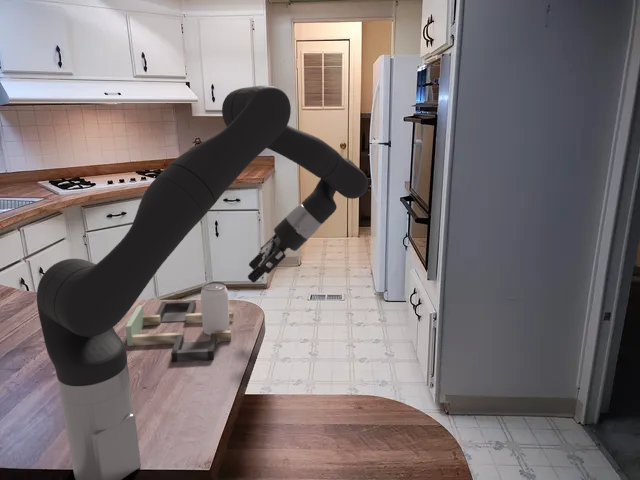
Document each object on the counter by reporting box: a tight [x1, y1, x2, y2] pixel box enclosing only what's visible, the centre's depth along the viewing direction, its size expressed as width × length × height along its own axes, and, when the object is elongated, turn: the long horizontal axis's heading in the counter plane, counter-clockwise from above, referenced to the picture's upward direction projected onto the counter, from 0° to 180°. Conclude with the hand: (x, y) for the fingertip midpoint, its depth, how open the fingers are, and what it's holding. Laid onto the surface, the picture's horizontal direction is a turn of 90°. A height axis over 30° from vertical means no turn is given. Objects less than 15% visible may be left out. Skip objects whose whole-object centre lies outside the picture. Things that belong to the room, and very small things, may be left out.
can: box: [200, 281, 230, 337], centre depth 112 cm, size 6×6×12 cm
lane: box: [127, 300, 235, 363], centre depth 112 cm, size 24×28×2 cm
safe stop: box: [125, 304, 145, 347], centre depth 111 cm, size 1×11×5 cm, turn 7°
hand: (251, 273), depth 110 cm, fingers open, 8 cm apart
